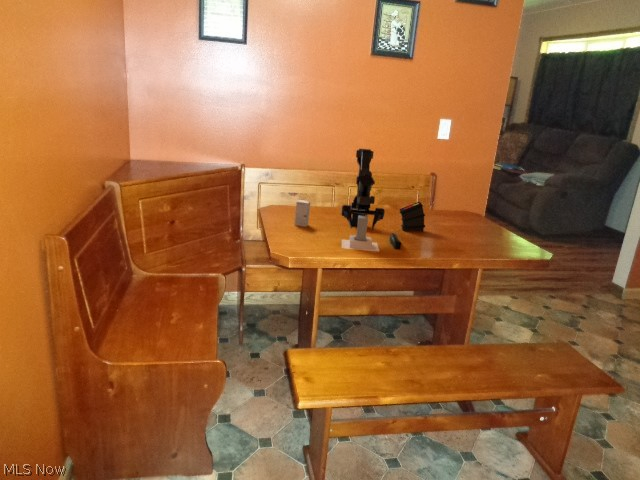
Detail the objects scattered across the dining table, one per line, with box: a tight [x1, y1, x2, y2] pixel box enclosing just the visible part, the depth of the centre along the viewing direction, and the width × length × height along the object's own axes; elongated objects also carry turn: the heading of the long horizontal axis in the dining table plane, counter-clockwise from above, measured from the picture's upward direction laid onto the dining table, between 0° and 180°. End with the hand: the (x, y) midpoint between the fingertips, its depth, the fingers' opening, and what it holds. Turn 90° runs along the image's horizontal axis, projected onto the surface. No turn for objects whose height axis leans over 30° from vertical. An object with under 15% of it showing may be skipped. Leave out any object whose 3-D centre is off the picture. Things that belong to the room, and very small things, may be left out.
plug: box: [355, 215, 369, 241], centre depth 201 cm, size 4×4×13 cm
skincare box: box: [294, 199, 311, 228], centre depth 227 cm, size 6×4×12 cm
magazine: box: [399, 201, 426, 233], centre depth 234 cm, size 4×13×15 cm, turn 95°
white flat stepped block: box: [341, 234, 380, 252], centre depth 203 cm, size 16×12×4 cm
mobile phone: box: [389, 232, 402, 250], centre depth 209 cm, size 5×3×15 cm
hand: (361, 228), depth 201 cm, fingers open, 9 cm apart
